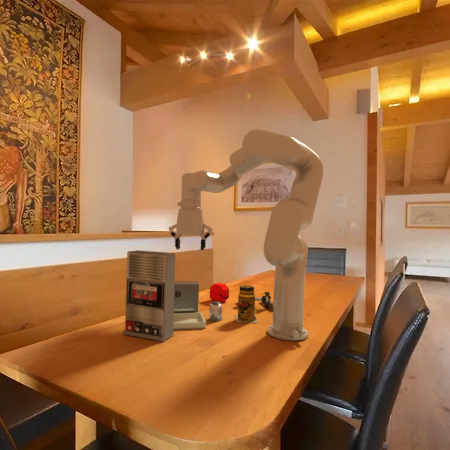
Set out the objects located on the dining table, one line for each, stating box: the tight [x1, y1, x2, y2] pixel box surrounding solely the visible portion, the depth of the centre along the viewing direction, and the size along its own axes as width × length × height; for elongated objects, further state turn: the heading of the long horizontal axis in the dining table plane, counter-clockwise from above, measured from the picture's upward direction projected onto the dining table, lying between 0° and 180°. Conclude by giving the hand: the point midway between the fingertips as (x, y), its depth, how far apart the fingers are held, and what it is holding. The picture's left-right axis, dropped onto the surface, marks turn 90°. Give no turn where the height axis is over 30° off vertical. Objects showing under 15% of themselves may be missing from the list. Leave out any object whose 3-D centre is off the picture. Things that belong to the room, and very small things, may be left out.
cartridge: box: [208, 301, 223, 322], centre depth 111 cm, size 4×4×6 cm
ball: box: [209, 282, 230, 303], centre depth 137 cm, size 8×8×8 cm
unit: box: [174, 280, 200, 313], centre depth 114 cm, size 7×10×12 cm
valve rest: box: [260, 295, 273, 312], centre depth 130 cm, size 14×12×2 cm
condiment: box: [235, 285, 259, 324], centre depth 112 cm, size 7×8×12 cm
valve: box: [255, 291, 272, 309], centre depth 129 cm, size 7×7×12 cm
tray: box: [173, 311, 207, 331], centre depth 105 cm, size 11×11×2 cm
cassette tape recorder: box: [122, 249, 176, 343], centre depth 93 cm, size 14×6×25 cm, turn 70°
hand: (190, 249), depth 120 cm, fingers open, 9 cm apart
